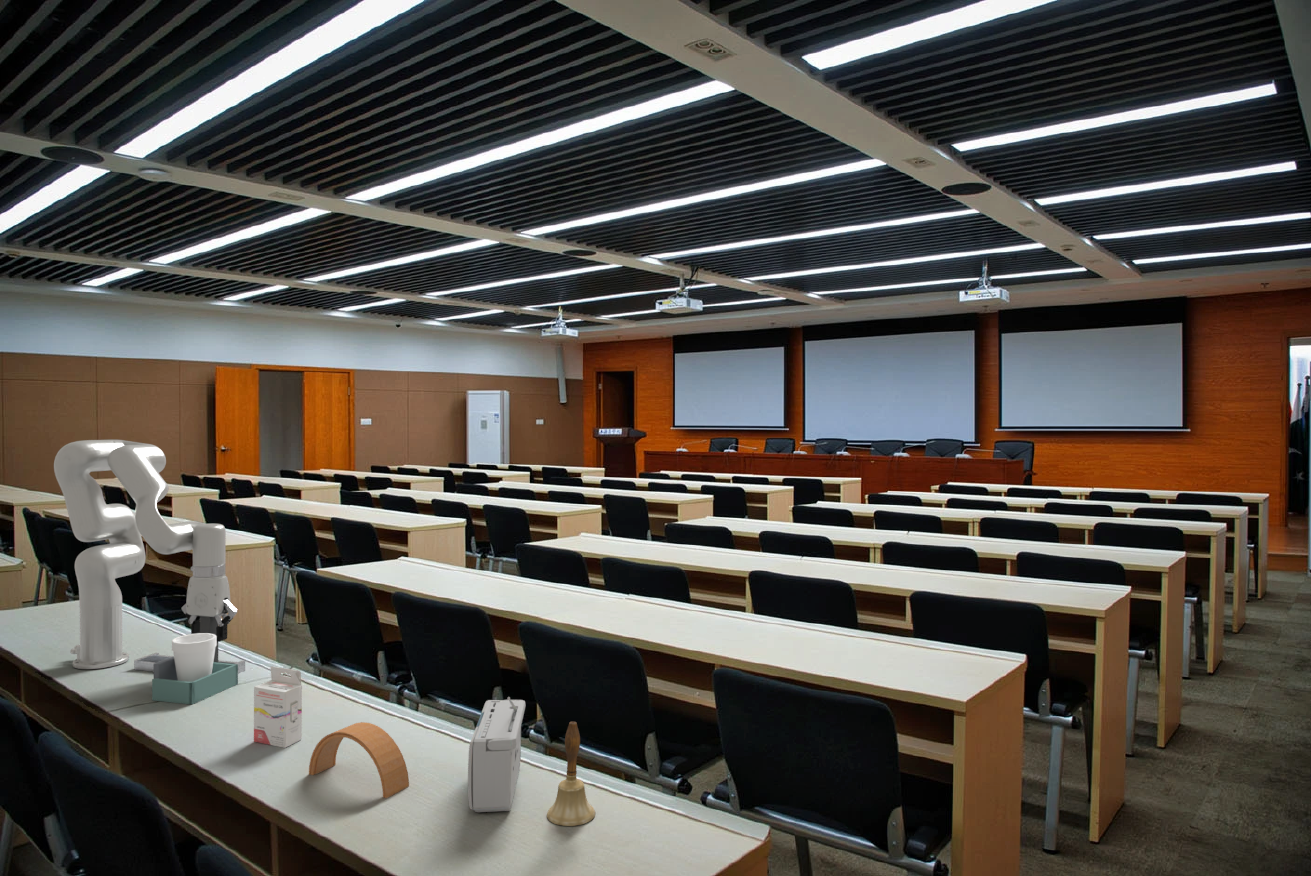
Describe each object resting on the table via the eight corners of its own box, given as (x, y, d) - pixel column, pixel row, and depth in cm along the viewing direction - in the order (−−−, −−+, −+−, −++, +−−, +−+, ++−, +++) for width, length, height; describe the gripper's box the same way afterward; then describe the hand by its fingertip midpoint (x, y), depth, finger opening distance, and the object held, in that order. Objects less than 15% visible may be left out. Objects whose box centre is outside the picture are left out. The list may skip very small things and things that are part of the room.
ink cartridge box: (252, 742, 171) (252, 672, 170) (270, 734, 175) (270, 665, 175) (285, 748, 168) (285, 677, 168) (303, 739, 173) (303, 670, 172)
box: (152, 700, 194) (152, 679, 194) (200, 680, 209) (200, 660, 209) (192, 704, 192) (192, 683, 192) (237, 684, 207) (237, 664, 207)
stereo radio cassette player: (483, 765, 162) (483, 663, 161) (525, 764, 162) (526, 663, 162) (466, 817, 141) (467, 701, 140) (515, 816, 141) (516, 700, 141)
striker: (141, 694, 197) (141, 624, 197) (208, 668, 218) (208, 604, 218) (158, 696, 196) (158, 625, 196) (224, 669, 217) (224, 605, 217)
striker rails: (134, 669, 217) (134, 660, 217) (155, 661, 224) (155, 652, 224) (225, 678, 211) (225, 668, 211) (245, 670, 218) (245, 660, 218)
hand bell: (547, 804, 146) (549, 714, 145) (595, 803, 147) (596, 714, 146) (545, 827, 138) (546, 732, 137) (595, 826, 138) (596, 732, 138)
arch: (385, 799, 147) (385, 744, 147) (308, 775, 156) (308, 722, 156) (409, 787, 152) (409, 733, 152) (333, 763, 161) (333, 713, 161)
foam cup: (223, 685, 206) (223, 633, 205) (203, 697, 197) (203, 643, 196) (185, 684, 206) (185, 633, 205) (163, 697, 196) (163, 643, 196)
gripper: (169, 572, 214) (169, 640, 214) (227, 576, 210) (227, 645, 210) (191, 567, 221) (191, 633, 221) (248, 570, 217) (248, 637, 218)
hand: (209, 638), depth 216 cm, fingers open, 7 cm apart
